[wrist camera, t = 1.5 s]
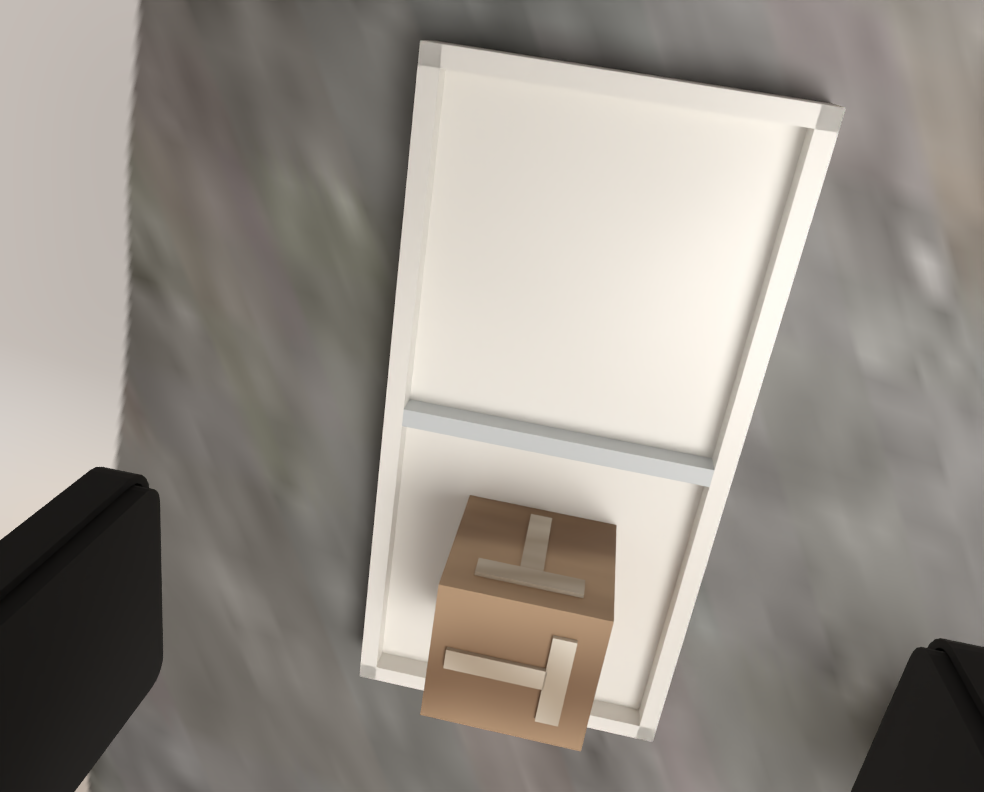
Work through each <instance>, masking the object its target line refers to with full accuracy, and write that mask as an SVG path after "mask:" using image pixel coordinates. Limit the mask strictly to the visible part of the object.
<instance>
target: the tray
mask: <svg viewBox="0 0 984 792" xmlns="http://www.w3.org/2000/svg"><path fill="white" fill-rule="evenodd" d="M845 110H846V108H844V107H841V106H838V105H835V104H832V103H826V102H820V101H813V100H807V99H801V98H795V97H788V96H782V95H776V94H769V93H763V92H757V91H750V90H744V89H738V88H731V87H725V86H719V85H712V84H706V83H700V82H694V81H687V80H681V79H675V78H668V77H662V76H656V75H649V74H643V73H637V72H630V71H624V70H618V69H611V68H605V67H599V66H593V65H586V64H580V63H574V62H567V61H561V60H555V59H548V58H542V57H536V56H529V55H523V54H517V53H511V52H504V51H498V50H492V49H485V48H479V47H473V46H466V45H460V44H454V43H447V42H441V41H435V40H421V41H420V47H419V57H418V68H417V78H416V89H415V99H414V110H413V120H412V131H411V141H410V152H409V162H408V173H407V183H406V194H405V204H404V215H403V225H402V236H401V246H400V257H399V267H398V278H397V288H396V299H395V309H394V320H393V330H392V341H391V351H390V362H389V372H388V383H387V393H386V404H385V414H384V425H383V435H382V446H381V456H380V467H379V477H378V488H377V498H376V509H375V519H374V530H373V540H372V551H371V561H370V572H369V582H368V593H367V603H366V614H365V624H364V635H363V645H362V656H361V666H360V676H362V677H366V678H371V679H375V680H380V681H384V682H388V683H393V684H397V685H402V686H406V687H411V688H415V689H420V690H424V685H425V678H426V671H427V664H428V657H429V650H430V642H431V635H432V628H433V621H434V614H435V607H436V599H437V592H438V585H439V582H440V579H441V576H442V573H443V570H444V568H445V565H446V562H447V559H448V556H449V553H450V550H451V548H452V545H453V542H454V539H455V536H456V533H457V530H458V527H459V525H460V522H461V519H462V516H463V513H464V510H465V507H466V505H467V502H468V499H469V496H470V495H473V496H477V497H482V498H487V499H492V500H497V501H502V502H507V503H512V504H517V505H522V506H526V507H531V508H536V509H541V510H546V511H551V512H556V513H561V514H566V515H571V516H575V517H580V518H585V519H590V520H595V521H600V522H605V523H610V524H615V525H617V528H616V564H615V600H614V623H613V627H612V631H611V635H610V639H609V643H608V647H607V651H606V655H605V659H604V662H603V666H602V670H601V674H600V678H599V682H598V686H597V690H596V694H595V698H594V701H593V705H592V709H591V713H590V717H589V721H588V725H587V727H588V728H593V729H597V730H602V731H606V732H610V733H615V734H619V735H624V736H628V737H633V738H637V739H642V740H646V741H650V742H653V739H654V735H655V732H656V729H657V725H658V722H659V719H660V716H661V712H662V709H663V706H664V703H665V699H666V696H667V693H668V689H669V686H670V683H671V680H672V676H673V673H674V670H675V667H676V663H677V660H678V657H679V653H680V650H681V647H682V644H683V640H684V637H685V634H686V630H687V627H688V624H689V621H690V617H691V614H692V611H693V608H694V604H695V601H696V598H697V594H698V591H699V588H700V585H701V581H702V578H703V575H704V571H705V568H706V565H707V562H708V558H709V555H710V552H711V549H712V545H713V542H714V539H715V535H716V532H717V529H718V526H719V522H720V519H721V516H722V513H723V509H724V506H725V503H726V499H727V496H728V493H729V490H730V486H731V483H732V480H733V476H734V473H735V470H736V467H737V463H738V460H739V457H740V454H741V450H742V447H743V444H744V440H745V437H746V434H747V431H748V427H749V424H750V421H751V418H752V414H753V411H754V408H755V404H756V401H757V398H758V395H759V391H760V388H761V385H762V381H763V378H764V375H765V372H766V368H767V365H768V362H769V359H770V355H771V352H772V349H773V345H774V342H775V339H776V336H777V332H778V329H779V326H780V322H781V319H782V316H783V313H784V309H785V306H786V303H787V300H788V296H789V293H790V290H791V286H792V283H793V280H794V277H795V273H796V270H797V267H798V264H799V260H800V257H801V254H802V250H803V247H804V244H805V241H806V237H807V234H808V231H809V227H810V224H811V221H812V218H813V214H814V211H815V208H816V205H817V201H818V198H819V195H820V191H821V188H822V185H823V182H824V178H825V175H826V172H827V169H828V165H829V162H830V159H831V155H832V152H833V149H834V146H835V142H836V139H837V136H838V132H839V129H840V126H841V123H842V119H843V116H844V113H845Z"/></svg>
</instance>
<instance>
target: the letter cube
mask: <svg viewBox="0 0 984 792" xmlns="http://www.w3.org/2000/svg"><path fill="white" fill-rule="evenodd" d="M616 528H617V525H615V524H610V523H605V522H600V521H595V520H590V519H585V518H580V517H575V516H571V515H566V514H561V513H556V512H551V511H546V510H541V509H536V508H531V507H526V506H522V505H517V504H512V503H507V502H502V501H497V500H492V499H487V498H482V497H477V496H473V495H470V496H469V499H468V502H467V505H466V507H465V510H464V513H463V516H462V519H461V522H460V525H459V527H458V530H457V533H456V536H455V539H454V542H453V545H452V548H451V550H450V553H449V556H448V559H447V562H446V565H445V568H444V570H443V573H442V576H441V579H440V582H439V585H438V592H437V599H436V607H435V614H434V621H433V628H432V635H431V642H430V650H429V657H428V664H427V671H426V678H425V685H424V693H423V700H422V707H421V714H420V715H424V716H428V717H433V718H437V719H441V720H446V721H450V722H455V723H459V724H463V725H468V726H472V727H476V728H481V729H485V730H490V731H494V732H498V733H503V734H507V735H512V736H516V737H520V738H525V739H529V740H534V741H538V742H542V743H547V744H551V745H556V746H560V747H564V748H569V749H573V750H577V751H581V748H582V744H583V740H584V736H585V733H586V729H587V725H588V721H589V717H590V713H591V709H592V705H593V701H594V698H595V694H596V690H597V686H598V682H599V678H600V674H601V670H602V666H603V662H604V659H605V655H606V651H607V647H608V643H609V639H610V635H611V631H612V627H613V623H614V600H615V564H616Z"/></svg>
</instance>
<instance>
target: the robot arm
mask: <svg viewBox="0 0 984 792" xmlns="http://www.w3.org/2000/svg"><path fill="white" fill-rule="evenodd" d="M162 661H163V628H162V578H161V529H160V498H159V494H158V492H157V491H156V490H154V489H150V488H149V484H148V482H147V479H146V478H145V477H144V476H142V475H139V474H134V473H130V472H125V471H120V470H115V469H110V468H105V467H95V468H93V469H92V470H90V471H89V472H87V473H86V474H85V475H83V476H82V477H81V478H80V479H78V480H77V481H76V482H74V483H73V484H72V485H71V486H69V487H68V488H67V489H65V490H64V491H63V492H62V493H60V494H59V495H58V496H56V497H55V498H54V499H53V500H51V501H50V502H49V503H48V504H46V505H45V506H44V507H42V508H41V509H40V510H38V511H37V512H36V513H35V514H33V515H32V516H31V517H29V518H28V519H27V520H26V521H24V522H23V523H22V524H21V525H19V526H18V527H17V528H15V529H14V530H13V531H11V532H10V533H9V534H8V535H6V536H5V537H4V538H3V539H1V540H0V792H74V791H75V790H76V789H77V788H78V786H79V785H80V784H81V782H82V781H83V780H84V778H85V777H86V776H87V774H88V773H89V771H90V770H91V769H92V767H93V766H94V765H95V763H96V762H97V761H98V759H99V758H100V757H101V755H102V754H103V753H104V751H105V750H106V749H107V747H108V746H109V745H110V743H111V742H112V741H113V739H114V738H115V736H116V735H117V734H118V732H119V731H120V730H121V728H122V727H123V726H124V724H125V723H126V722H127V720H128V719H129V718H130V716H131V715H132V714H133V712H134V711H135V710H136V708H137V707H138V705H139V704H140V703H141V701H142V700H143V699H144V697H145V696H146V695H147V693H148V692H149V691H150V689H151V688H152V686H153V685H154V683H155V682H156V679H157V677H158V675H159V672H160V669H161V666H162ZM851 792H984V647H981V646H976V645H971V644H966V643H961V642H956V641H951V640H947V639H942V638H940V639H935V640H934V641H933V642H931V643H930V644H929V646H928V648H924V647H919V648H917V649H915V650H914V651H913V653H912V655H911V656H910V658H909V661H908V663H907V665H906V668H905V670H904V672H903V674H902V677H901V679H900V681H899V683H898V686H897V688H896V690H895V693H894V695H893V697H892V699H891V702H890V704H889V706H888V708H887V711H886V713H885V715H884V718H883V720H882V722H881V724H880V727H879V729H878V731H877V733H876V736H875V738H874V740H873V743H872V745H871V747H870V749H869V752H868V754H867V756H866V758H865V761H864V763H863V765H862V768H861V770H860V772H859V774H858V777H857V779H856V781H855V783H854V786H853V788H852V790H851Z"/></svg>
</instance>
